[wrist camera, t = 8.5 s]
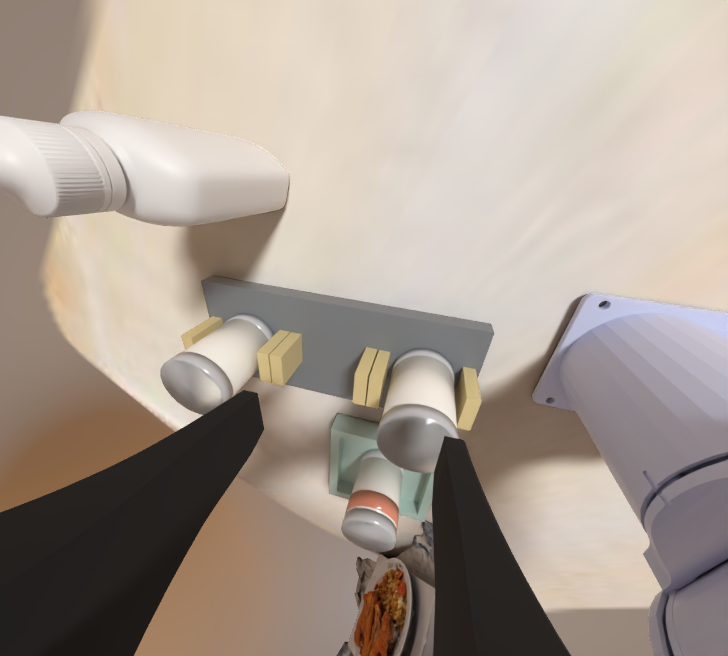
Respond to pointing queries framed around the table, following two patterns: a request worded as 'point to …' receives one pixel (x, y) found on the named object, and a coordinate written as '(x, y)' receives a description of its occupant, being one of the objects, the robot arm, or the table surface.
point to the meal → (396, 603)
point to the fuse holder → (346, 341)
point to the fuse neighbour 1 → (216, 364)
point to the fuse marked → (374, 503)
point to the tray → (345, 457)
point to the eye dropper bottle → (136, 170)
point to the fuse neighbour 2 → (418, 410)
